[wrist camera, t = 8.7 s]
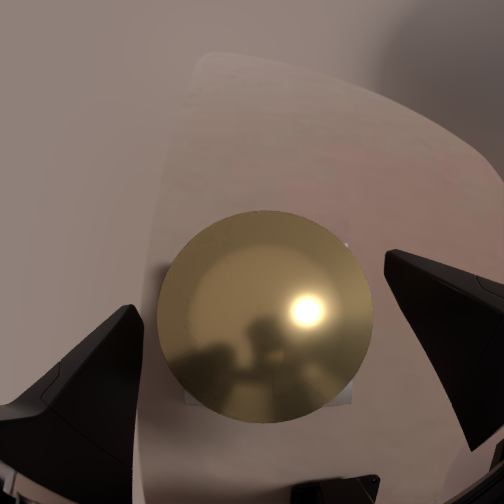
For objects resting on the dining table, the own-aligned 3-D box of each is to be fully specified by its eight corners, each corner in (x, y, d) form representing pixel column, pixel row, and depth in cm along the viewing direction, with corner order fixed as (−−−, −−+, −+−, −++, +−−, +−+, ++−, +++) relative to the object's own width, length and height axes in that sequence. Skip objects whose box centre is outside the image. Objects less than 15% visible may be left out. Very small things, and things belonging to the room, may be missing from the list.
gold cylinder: (301, 359, 16) (370, 415, 4) (237, 359, 16) (156, 412, 4) (300, 297, 17) (362, 211, 5) (238, 297, 17) (166, 213, 5)
